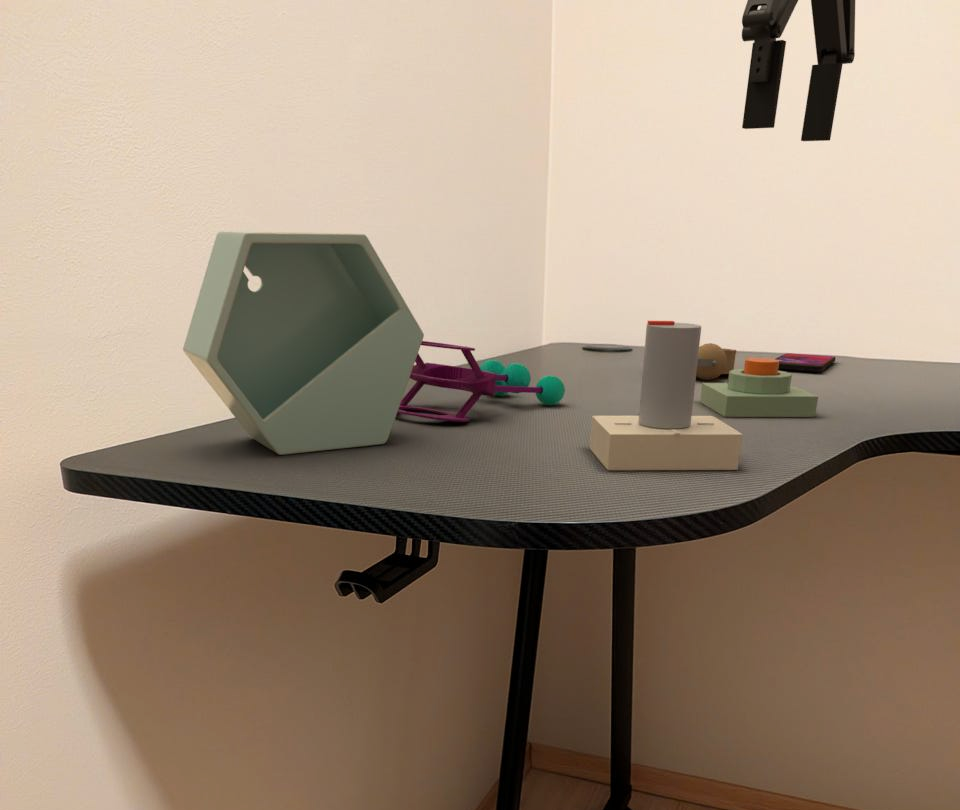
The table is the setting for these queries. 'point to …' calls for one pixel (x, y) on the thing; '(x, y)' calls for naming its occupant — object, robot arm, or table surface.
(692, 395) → the cylinder
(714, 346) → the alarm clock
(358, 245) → the planter
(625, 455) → the dial panel
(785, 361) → the smartphone
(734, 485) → the table surface
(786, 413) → the button block
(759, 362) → the button
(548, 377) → the purple framed piece
